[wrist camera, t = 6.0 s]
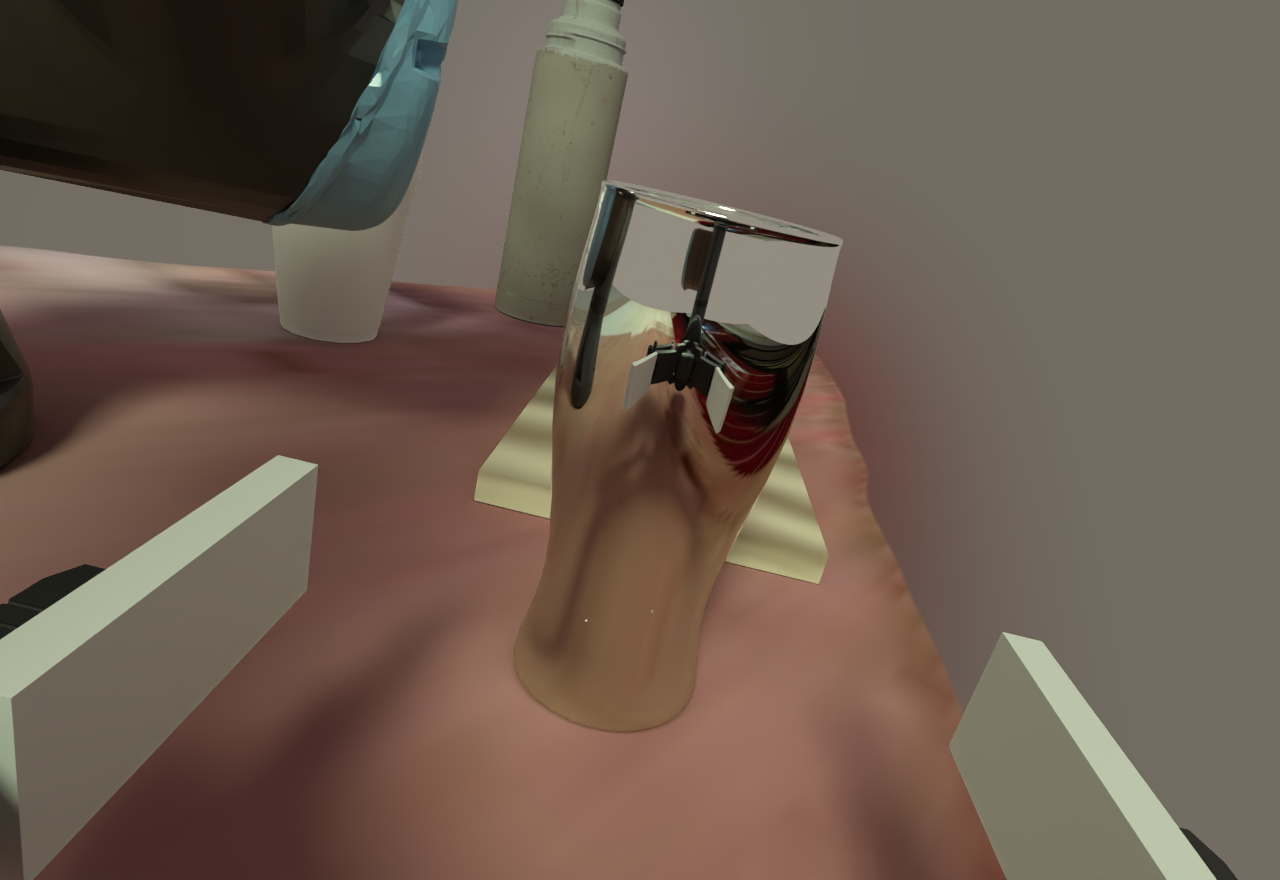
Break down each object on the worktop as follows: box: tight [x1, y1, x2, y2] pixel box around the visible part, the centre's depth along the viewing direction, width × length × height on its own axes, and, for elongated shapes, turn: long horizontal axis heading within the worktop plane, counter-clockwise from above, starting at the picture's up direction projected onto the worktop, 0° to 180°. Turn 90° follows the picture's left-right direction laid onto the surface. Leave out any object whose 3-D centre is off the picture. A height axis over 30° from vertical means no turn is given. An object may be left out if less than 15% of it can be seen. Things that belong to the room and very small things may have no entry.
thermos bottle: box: [495, 0, 628, 326], centre depth 67 cm, size 8×8×28 cm
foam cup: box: [272, 150, 423, 343], centre depth 51 cm, size 10×9×13 cm
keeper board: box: [474, 364, 829, 584], centre depth 45 cm, size 24×16×2 cm, turn 175°
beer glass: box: [514, 180, 843, 732], centre depth 23 cm, size 7×7×15 cm
